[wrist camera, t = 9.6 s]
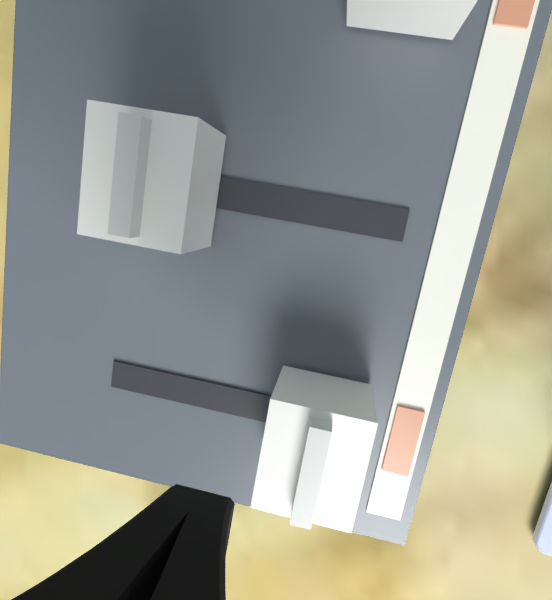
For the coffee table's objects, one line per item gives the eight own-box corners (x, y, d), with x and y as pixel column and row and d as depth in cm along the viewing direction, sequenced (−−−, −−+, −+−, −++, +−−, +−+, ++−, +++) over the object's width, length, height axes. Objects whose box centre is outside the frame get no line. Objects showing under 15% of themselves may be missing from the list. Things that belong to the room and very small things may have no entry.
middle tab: (226, 135, 14) (190, 111, 11) (210, 246, 15) (172, 256, 11) (135, 120, 14) (73, 93, 11) (125, 230, 15) (63, 235, 12)
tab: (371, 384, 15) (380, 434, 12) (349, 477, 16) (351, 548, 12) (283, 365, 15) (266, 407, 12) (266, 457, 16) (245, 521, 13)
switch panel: (567, -132, 13) (612, -200, 11) (397, 509, 18) (405, 549, 16) (66, -178, 15) (20, -244, 13) (31, 419, 20) (-7, 445, 17)
